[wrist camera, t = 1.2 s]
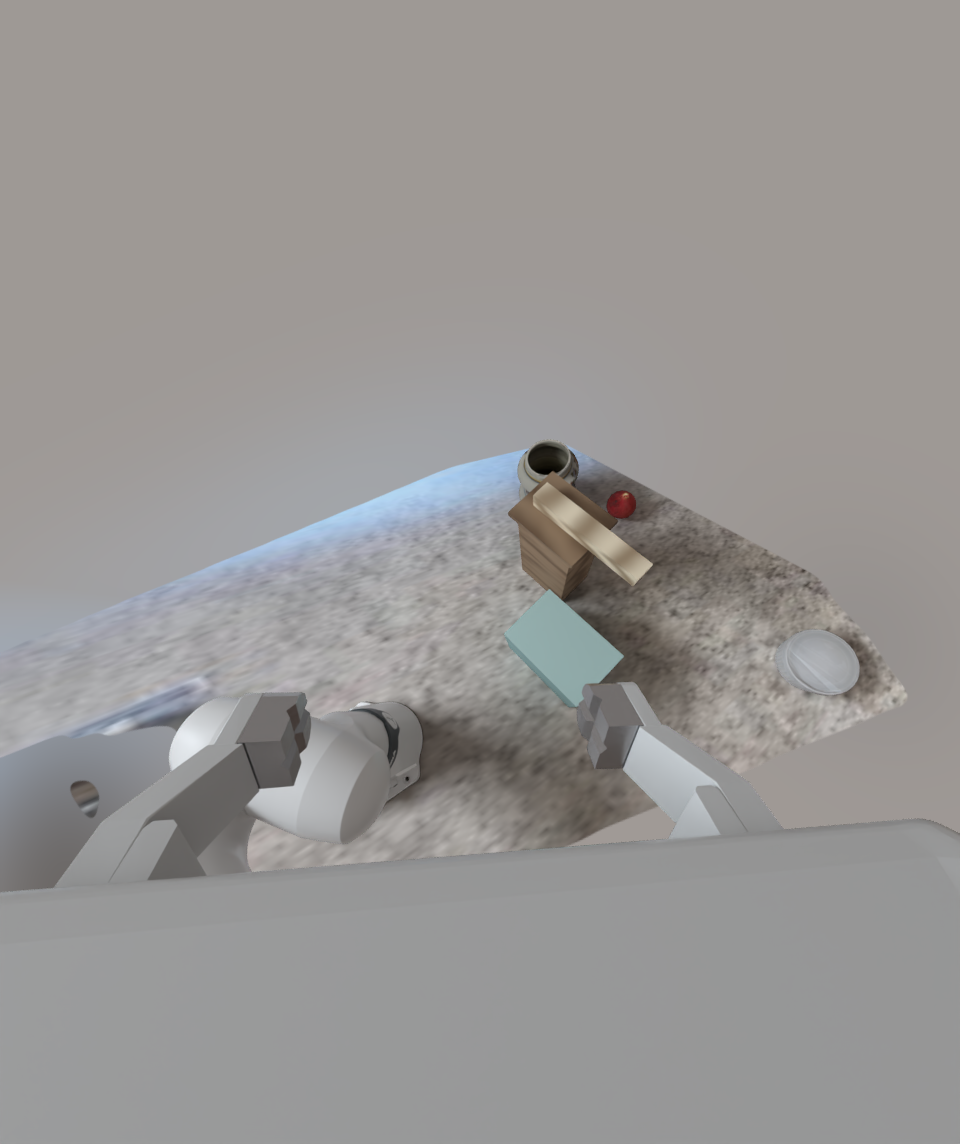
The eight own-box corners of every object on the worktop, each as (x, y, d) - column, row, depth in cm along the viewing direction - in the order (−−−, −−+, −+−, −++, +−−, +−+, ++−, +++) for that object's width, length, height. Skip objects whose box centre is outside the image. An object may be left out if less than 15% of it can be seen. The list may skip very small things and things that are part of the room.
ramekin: (765, 685, 70) (783, 683, 65) (771, 627, 73) (788, 621, 68) (836, 704, 67) (859, 704, 62) (838, 643, 70) (861, 639, 66)
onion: (608, 527, 84) (616, 509, 77) (600, 505, 86) (606, 485, 79) (635, 521, 84) (644, 502, 76) (626, 498, 86) (635, 478, 78)
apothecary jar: (515, 488, 90) (511, 438, 74) (566, 477, 90) (573, 424, 73) (525, 533, 86) (523, 491, 69) (578, 522, 85) (589, 477, 69)
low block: (568, 707, 73) (576, 706, 59) (509, 647, 78) (503, 633, 64) (607, 665, 74) (624, 656, 60) (546, 609, 80) (549, 588, 66)
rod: (647, 571, 53) (653, 564, 51) (632, 586, 53) (638, 579, 50) (546, 492, 60) (547, 482, 57) (533, 505, 59) (533, 495, 56)
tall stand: (560, 609, 79) (571, 566, 55) (515, 569, 84) (508, 512, 59) (593, 576, 81) (617, 520, 57) (547, 538, 85) (552, 471, 61)
